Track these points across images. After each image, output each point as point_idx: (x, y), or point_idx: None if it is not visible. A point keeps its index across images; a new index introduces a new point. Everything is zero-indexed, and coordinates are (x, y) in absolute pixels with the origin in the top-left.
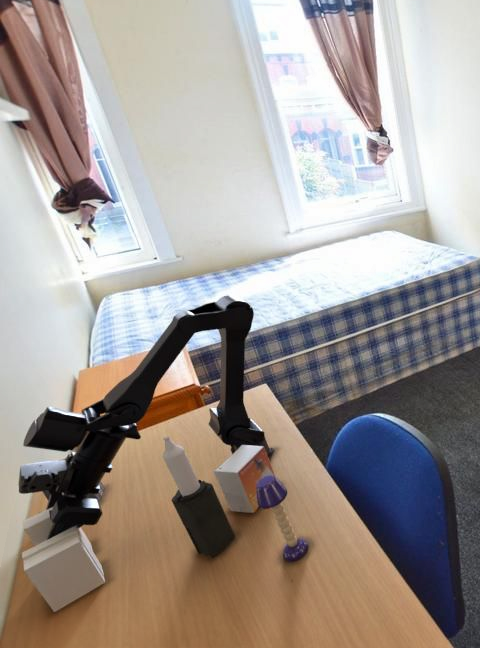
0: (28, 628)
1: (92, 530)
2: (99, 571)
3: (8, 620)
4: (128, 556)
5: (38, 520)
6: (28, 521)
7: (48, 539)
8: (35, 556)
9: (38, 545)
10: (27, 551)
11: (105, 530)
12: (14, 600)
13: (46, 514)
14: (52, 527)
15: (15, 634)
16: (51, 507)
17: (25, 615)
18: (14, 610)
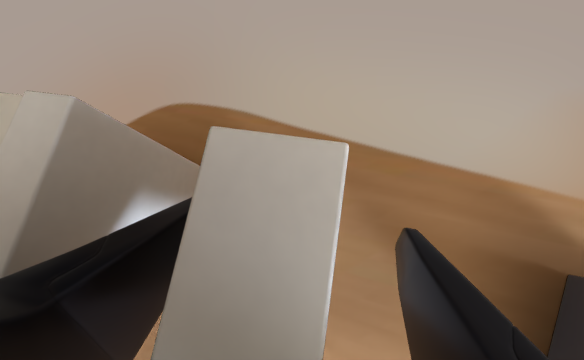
0: (160, 126)
1: (377, 315)
2: None
3: (223, 107)
4: (150, 331)
5: (222, 219)
6: (288, 166)
7: (27, 208)
8: (1, 136)
9: (30, 160)
10: (49, 114)
11: (336, 339)
12: (275, 123)
13: (239, 286)
14: (79, 259)
15: (169, 109)
16: (448, 326)
17: (203, 129)
18: (242, 118)
